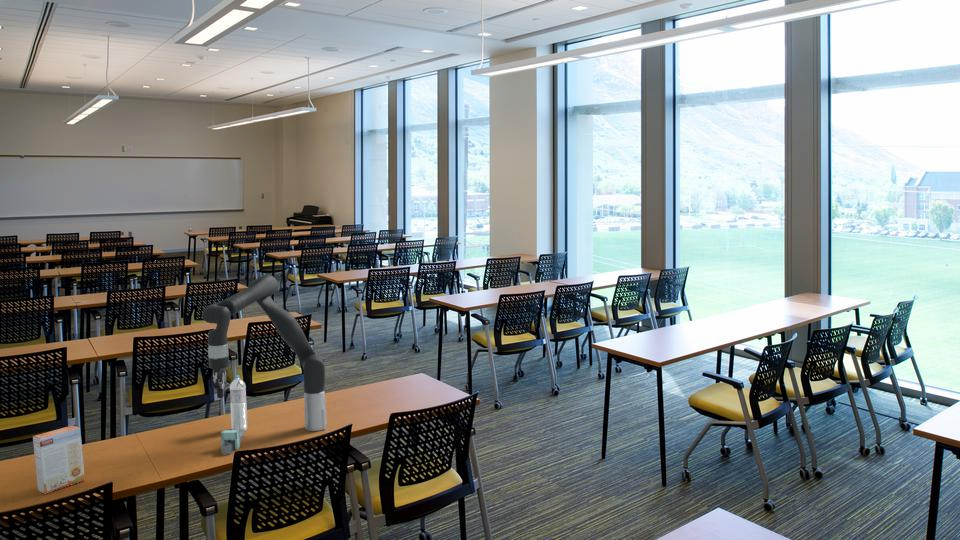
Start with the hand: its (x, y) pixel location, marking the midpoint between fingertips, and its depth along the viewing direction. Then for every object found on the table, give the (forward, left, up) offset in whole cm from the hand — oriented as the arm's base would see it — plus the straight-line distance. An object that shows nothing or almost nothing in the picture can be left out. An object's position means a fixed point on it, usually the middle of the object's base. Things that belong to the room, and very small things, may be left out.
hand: (220, 397), depth 276 cm
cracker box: (+51, +24, -25) cm, 62 cm away
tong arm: (+1, -15, -25) cm, 29 cm away
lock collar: (0, -10, -25) cm, 27 cm away
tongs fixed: (0, -13, -25) cm, 28 cm away
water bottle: (+3, -33, -25) cm, 42 cm away
